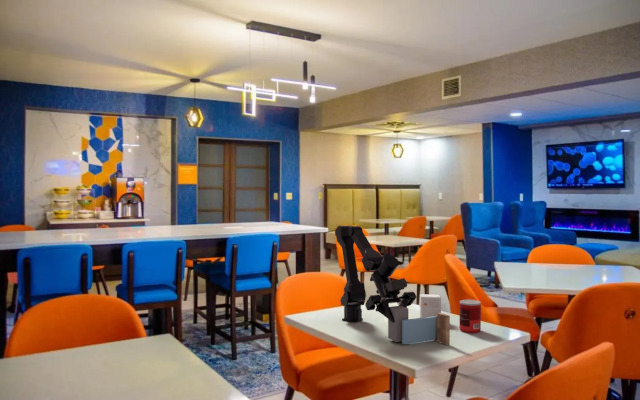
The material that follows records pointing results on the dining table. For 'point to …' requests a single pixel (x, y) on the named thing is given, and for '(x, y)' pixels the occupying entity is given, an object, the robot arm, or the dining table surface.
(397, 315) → the block
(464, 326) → the canned food
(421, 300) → the small box
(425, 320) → the gate
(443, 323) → the brown wooden block
